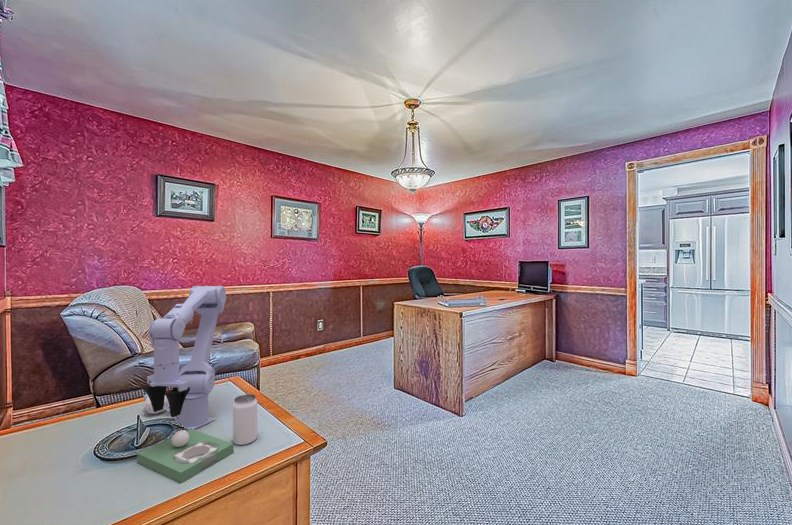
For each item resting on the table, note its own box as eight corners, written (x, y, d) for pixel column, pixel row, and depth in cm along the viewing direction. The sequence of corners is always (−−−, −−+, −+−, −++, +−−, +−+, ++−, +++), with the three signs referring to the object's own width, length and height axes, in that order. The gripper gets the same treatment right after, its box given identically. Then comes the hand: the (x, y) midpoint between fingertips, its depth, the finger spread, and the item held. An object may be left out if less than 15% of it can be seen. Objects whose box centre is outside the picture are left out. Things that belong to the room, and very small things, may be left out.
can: (248, 447, 95) (248, 403, 95) (227, 444, 97) (227, 401, 96) (262, 435, 102) (261, 394, 101) (242, 433, 103) (242, 392, 103)
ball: (168, 447, 90) (168, 432, 90) (183, 440, 94) (183, 426, 94) (177, 451, 89) (177, 436, 89) (192, 444, 92) (192, 429, 92)
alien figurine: (178, 416, 119) (153, 400, 122) (183, 397, 118) (158, 382, 121) (157, 426, 112) (131, 409, 115) (163, 406, 111) (136, 390, 114)
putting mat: (137, 462, 88) (137, 453, 88) (190, 437, 101) (190, 428, 101) (181, 483, 80) (181, 472, 80) (233, 452, 93) (233, 443, 93)
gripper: (134, 363, 93) (134, 413, 93) (168, 370, 87) (168, 424, 87) (162, 356, 100) (162, 404, 100) (195, 363, 93) (195, 413, 93)
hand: (166, 413), depth 94 cm, fingers open, 7 cm apart
